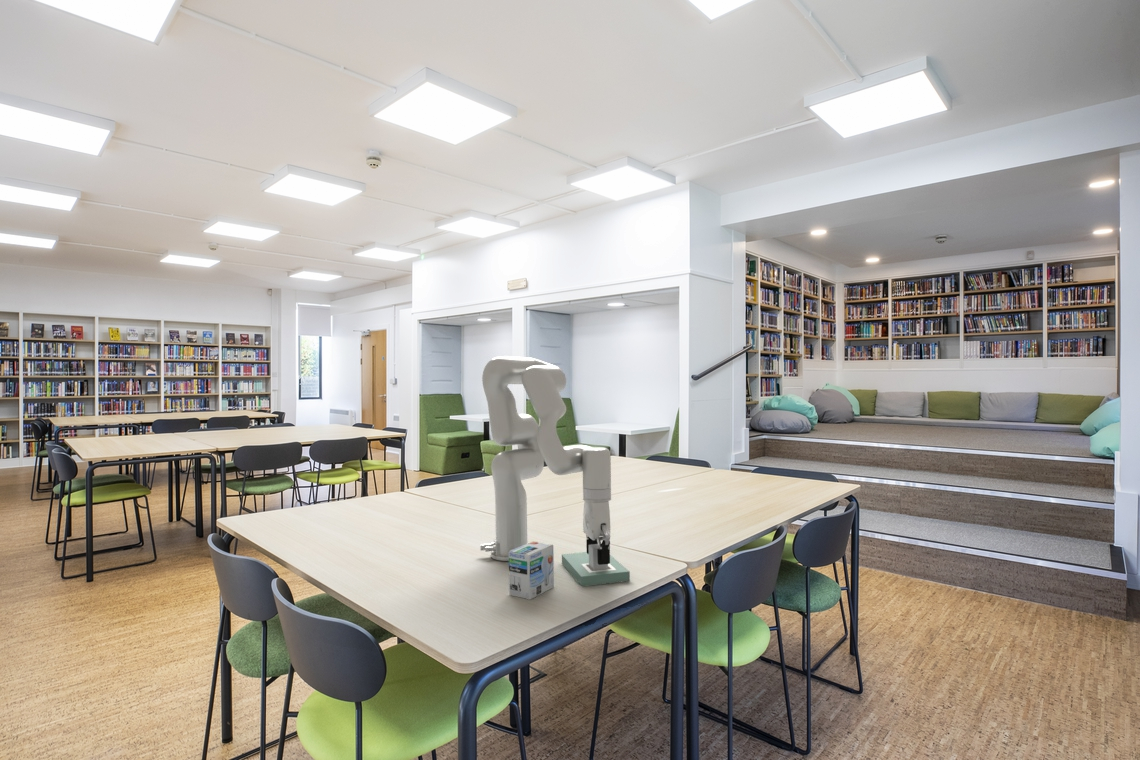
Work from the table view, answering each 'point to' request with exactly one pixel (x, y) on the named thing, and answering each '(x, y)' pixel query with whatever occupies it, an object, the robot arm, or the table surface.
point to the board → (586, 577)
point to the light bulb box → (531, 570)
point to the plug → (595, 559)
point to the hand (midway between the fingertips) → (597, 558)
